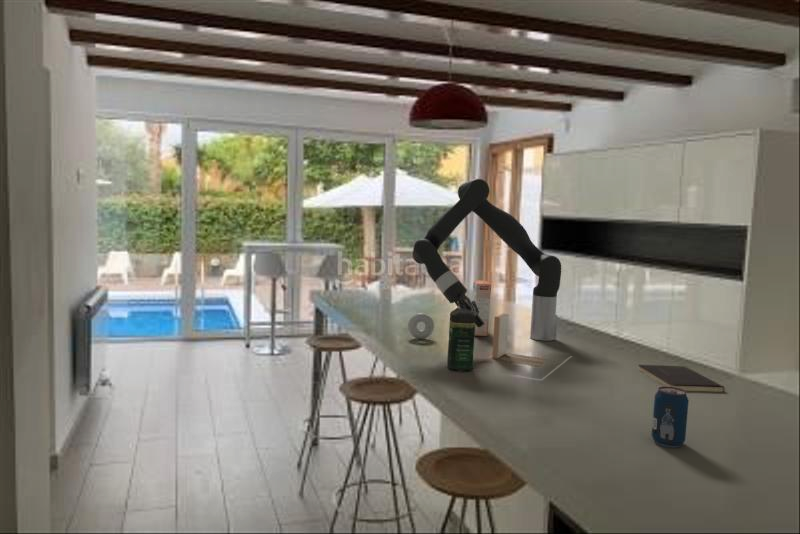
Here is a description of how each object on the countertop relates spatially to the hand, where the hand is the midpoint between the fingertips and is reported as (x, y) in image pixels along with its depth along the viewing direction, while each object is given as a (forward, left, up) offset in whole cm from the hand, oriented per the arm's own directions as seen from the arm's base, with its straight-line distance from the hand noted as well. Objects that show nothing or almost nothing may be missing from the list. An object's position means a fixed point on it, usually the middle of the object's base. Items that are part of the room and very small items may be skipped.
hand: (481, 325), depth 219 cm
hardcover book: (-42, +47, -11) cm, 64 cm away
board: (-8, +11, -10) cm, 17 cm away
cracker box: (-21, -32, -10) cm, 40 cm away
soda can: (+5, +85, -10) cm, 85 cm away
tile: (-4, +6, -9) cm, 12 cm away
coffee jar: (+16, +14, -10) cm, 24 cm away
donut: (+8, -28, -10) cm, 31 cm away
